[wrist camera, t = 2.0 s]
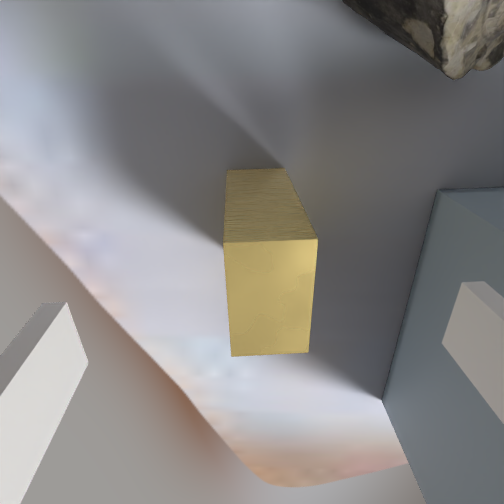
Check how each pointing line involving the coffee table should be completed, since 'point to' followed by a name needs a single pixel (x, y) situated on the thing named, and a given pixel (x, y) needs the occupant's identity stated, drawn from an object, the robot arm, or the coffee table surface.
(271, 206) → the block
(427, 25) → the fossil
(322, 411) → the coffee table surface
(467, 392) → the coin box
